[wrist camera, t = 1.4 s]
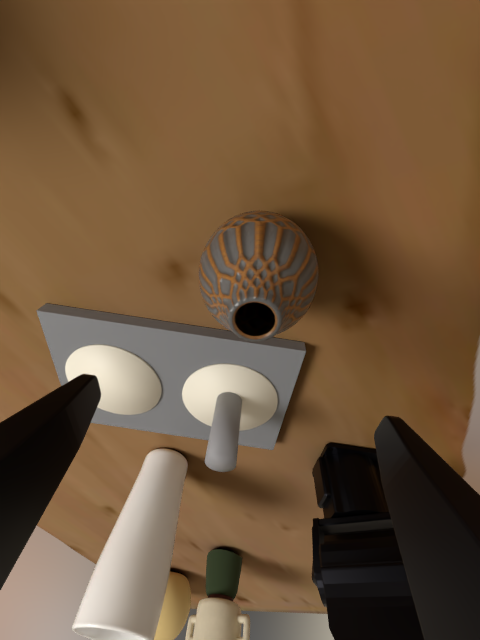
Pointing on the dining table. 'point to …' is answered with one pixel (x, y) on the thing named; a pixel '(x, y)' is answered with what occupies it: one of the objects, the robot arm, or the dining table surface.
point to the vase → (258, 274)
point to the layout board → (177, 377)
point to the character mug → (220, 601)
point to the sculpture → (174, 607)
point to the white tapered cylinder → (136, 556)
